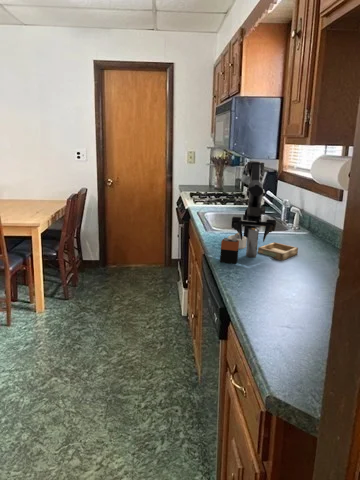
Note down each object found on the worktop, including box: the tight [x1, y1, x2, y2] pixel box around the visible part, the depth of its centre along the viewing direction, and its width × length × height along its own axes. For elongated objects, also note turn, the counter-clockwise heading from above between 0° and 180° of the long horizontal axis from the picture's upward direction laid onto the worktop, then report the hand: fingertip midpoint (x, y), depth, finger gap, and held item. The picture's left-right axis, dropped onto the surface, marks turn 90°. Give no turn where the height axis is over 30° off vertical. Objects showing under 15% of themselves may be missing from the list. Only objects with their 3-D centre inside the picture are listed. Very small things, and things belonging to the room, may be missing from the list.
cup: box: [227, 234, 247, 250], centre depth 188 cm, size 8×8×5 cm
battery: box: [219, 237, 239, 265], centre depth 166 cm, size 4×7×10 cm, turn 77°
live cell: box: [245, 227, 260, 258], centre depth 173 cm, size 4×4×13 cm
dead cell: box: [234, 232, 240, 239], centre depth 188 cm, size 3×3×6 cm
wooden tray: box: [257, 242, 299, 261], centre depth 181 cm, size 14×12×3 cm
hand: (252, 240), depth 172 cm, fingers open, 9 cm apart
